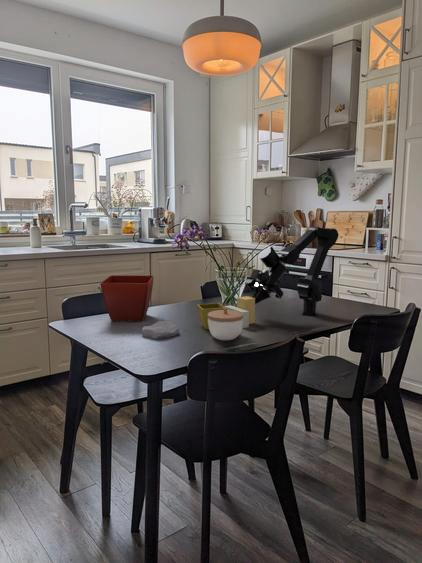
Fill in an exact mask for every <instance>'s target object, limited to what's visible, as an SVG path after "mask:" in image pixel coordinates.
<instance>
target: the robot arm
mask: <svg viewBox="0 0 422 563" xmlns="http://www.w3.org/2000/svg"><path fill="white" fill-rule="evenodd" d="M338 232H339V231H338V229H336V228H334V227H333V228H332V227H331V228H330V227H329V228H328V227H320V226H310V227H309V228H308V229H307V230H306V231H305V232H304V233H302V235H301V236H300V237H299V238H298V239H297V240H296V241H294V243H292V244H290V245H289V246H285V247H283V248H282V249H280V250H279V251H278V252H276V251H275V249H274V248H273V246H270V245H269V246H267V247H266V248H264V249H263V250H261V251H260V252H259V253H258V255H257V256H258V258H259V260H260V261H261V262H262V264H264V266H265V267H266V268H269V269H262V270H261V269H255V268H253V269H252V271H251V275H250V277H251V278H255V279H251V278H247V279H246V280H245V282H244V284H245V285H246V286H247V287H248V288H249V289H250V291H251V292H252V294H253V295H252V296H251V297H252V298H255V305H256V304H258V303H260V302H262V301H264V300H266V299H270V298H271V297H272V296H271V295H272V294H275V296H274V298H275V299H279V300H281V299H282V298H283V296H284V291H283V290H282V289H281V287H280V286H279V284H280V283H281V282H280V279H281V278H282V276H283V275H284V274H288V275H290V270H289V269H290V268H289V267H288V266H293V265H294V264H296V263H297V261H298V259H299V258H300V255H301V253H302V252H303V251H304V250H305V249H306V248H307V247H308V246H309V245H310V244H311V243H312V242H314V240H316V241H317V246H316V250H315V252H314V256H313V259H312V261H311V262H310V265H309V269H308V271H307V273H306V275H305V276H304V277H300V278H299V281H298V283H297V285H296V292H297V294H298V297H299V299H300V300H303V301H302V303H303V304H302V310H301V315H305V316H318V311H317V304H318V303H319V302H321V301H322V298H323V296H322V294H321V293H320V292H319V280H318V279H319V276H320V273H321V272H322V269H323V266H324V264H325V260H326V258H327V256H328V253H329V251H330V249H331V248H332V247H333V246H335V245H336V242H337V240H339V233H338ZM286 265H288V266H286Z"/></svg>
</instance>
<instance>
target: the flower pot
mask: <svg viewBox="0 0 422 563" xmlns="http://www.w3.org/2000/svg"><path fill="white" fill-rule="evenodd" d="M196 306H197V312H198V318H199V321H200V323H201V325H202V327H203V328H204V329H205V330H209V326H208V313H209V312H212V311H217V310H224V308H225V306H223V305H222V304H221V303H219V302H212V303H211V302H210V303H201V304H196Z"/></svg>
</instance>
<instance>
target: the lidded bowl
mask: <svg viewBox="0 0 422 563" xmlns="http://www.w3.org/2000/svg"><path fill="white" fill-rule="evenodd" d="M242 325H243V313H241V312H238V311H233V310H227V308H224V310H217V311H212V312H209V313H208V326H209V329H208V330H209V333H210V334H211V336H212V337H214V338H215V339H216V340H219V341H231V340H235V339H237V338H238V337H239V335H240V334H241V332H242V330H243V328H242Z"/></svg>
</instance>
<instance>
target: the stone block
mask: <svg viewBox="0 0 422 563" xmlns="http://www.w3.org/2000/svg"><path fill="white" fill-rule="evenodd" d="M179 333H180V328H179V326H178V325H177V324H175V323H173V322H172V321H168V320H159V321H156V322H154V323H153V324H151V325H149V326H148V325H147V326H146V325H145V326H143V327H142V331H141V335H142V337H144V336H145V337H146V338H148V337H151V338H150V339H152V338H153V339H152V340H158V339H159V338H160V339H164V337H165V338H170V336H171V337H175V336H176V335H178V334H179ZM160 339H159V340H160Z"/></svg>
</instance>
